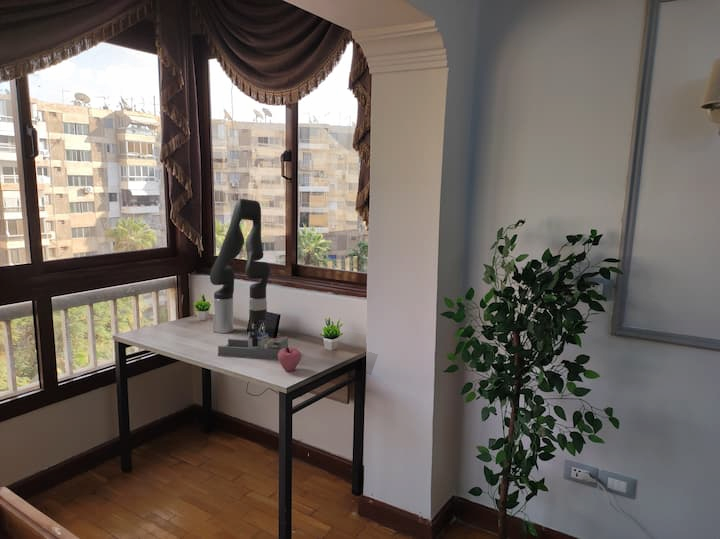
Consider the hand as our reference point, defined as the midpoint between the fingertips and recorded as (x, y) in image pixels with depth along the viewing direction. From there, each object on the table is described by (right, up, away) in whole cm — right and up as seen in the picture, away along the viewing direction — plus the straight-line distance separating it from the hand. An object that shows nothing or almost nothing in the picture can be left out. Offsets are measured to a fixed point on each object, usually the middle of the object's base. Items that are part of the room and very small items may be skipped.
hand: (258, 343), depth 234 cm
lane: (-2, -5, +1) cm, 5 cm away
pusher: (+7, -4, 0) cm, 8 cm away
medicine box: (0, -4, +1) cm, 4 cm away
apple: (+16, -8, -19) cm, 27 cm away
